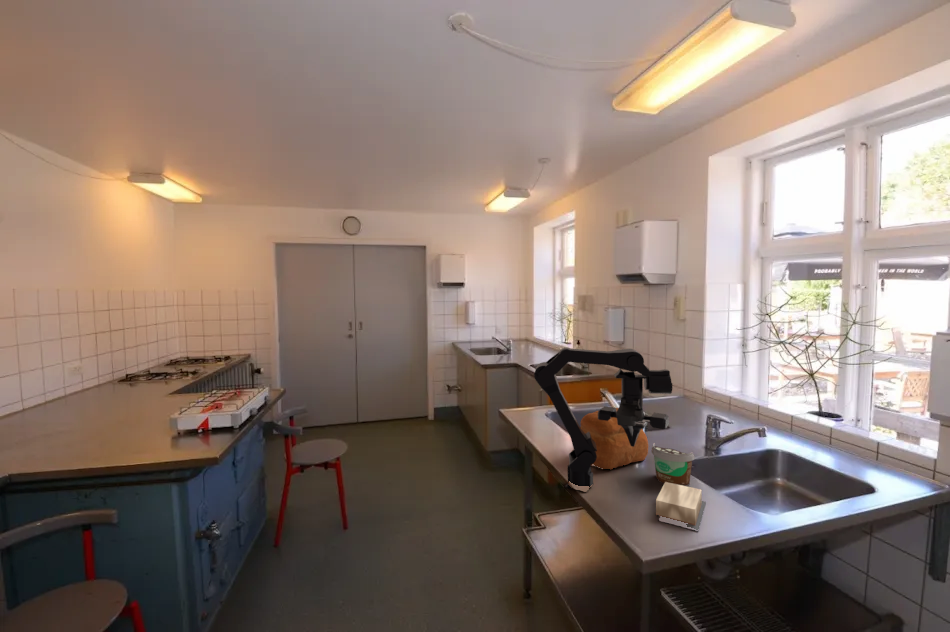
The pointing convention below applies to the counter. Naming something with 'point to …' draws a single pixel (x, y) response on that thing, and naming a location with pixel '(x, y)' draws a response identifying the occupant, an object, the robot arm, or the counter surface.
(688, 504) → the beige flat block
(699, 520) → the rubber mat
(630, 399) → the robot arm
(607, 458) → the bread
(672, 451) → the food container
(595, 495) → the counter surface
